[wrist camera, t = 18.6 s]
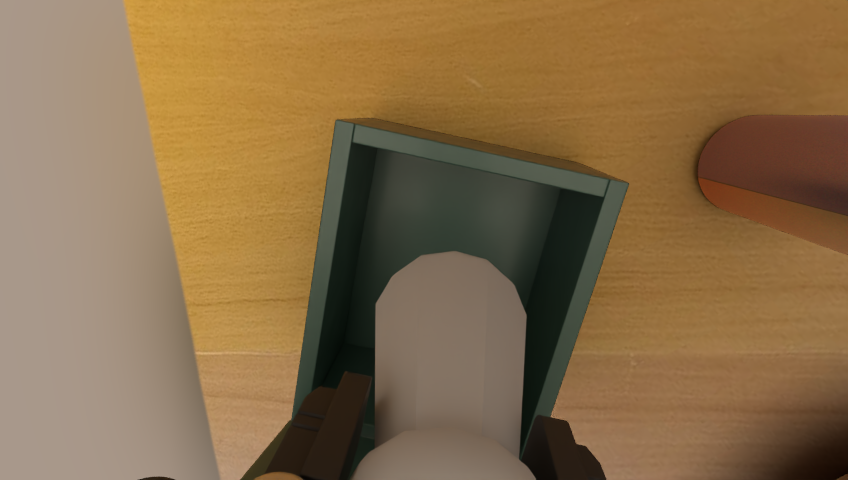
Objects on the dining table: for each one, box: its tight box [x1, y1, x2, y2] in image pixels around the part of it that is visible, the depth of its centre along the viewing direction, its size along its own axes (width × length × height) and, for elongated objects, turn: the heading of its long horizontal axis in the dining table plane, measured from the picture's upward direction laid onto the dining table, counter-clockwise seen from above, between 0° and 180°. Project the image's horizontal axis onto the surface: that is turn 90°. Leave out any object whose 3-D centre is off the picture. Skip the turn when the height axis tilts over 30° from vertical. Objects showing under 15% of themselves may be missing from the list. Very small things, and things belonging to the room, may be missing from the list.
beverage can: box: [698, 115, 848, 255], centre depth 21 cm, size 6×6×15 cm
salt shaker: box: [349, 251, 536, 480], centre depth 13 cm, size 6×6×13 cm
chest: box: [291, 118, 629, 461], centre depth 27 cm, size 17×14×9 cm
